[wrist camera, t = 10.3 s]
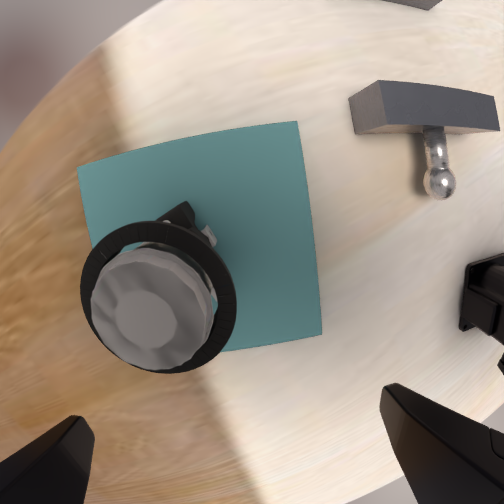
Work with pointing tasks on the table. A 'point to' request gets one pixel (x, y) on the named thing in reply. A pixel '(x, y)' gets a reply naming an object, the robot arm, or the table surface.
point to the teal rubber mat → (226, 218)
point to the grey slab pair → (424, 117)
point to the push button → (160, 293)
